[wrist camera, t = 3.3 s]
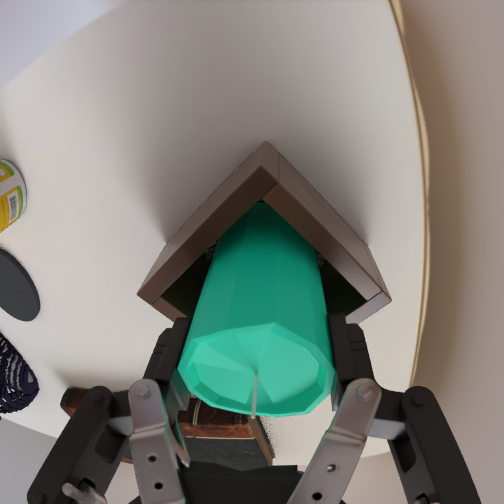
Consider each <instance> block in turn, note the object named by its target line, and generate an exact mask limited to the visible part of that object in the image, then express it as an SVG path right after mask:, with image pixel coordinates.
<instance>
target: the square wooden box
mask: <svg viewBox="0 0 504 504" xmlns="http://www.w3.org/2000/svg"><path fill="white" fill-rule="evenodd" d="M261 198H262V199H263V200H264V201H265V202H266V203H268V204H269V205H270V206H271V207H272V208H273V209H274V210H275V211H276V212H277V213H278V214H279V215H280V216H281V217H282V218H283V219H285V220H286V221H287V222H288V223H289V224H290V225H291V226H292V227H293V228H294V229H295V230H296V231H297V232H298V233H299V234H300V235H301V236H302V237H303V238H304V239H305V240H307V241H308V242H309V243H310V244H311V245H312V246H313V247H314V248H315V249H316V250H317V251H318V252H319V253H320V254H321V255H322V256H323V257H324V258H325V259H326V260H327V261H328V262H329V263H328V264H326V265H325V266H324V267H323V268H321V269H320V270H319V271H320V277H321V282H322V288H323V293H324V299H325V305H326V311H327V313H338V312H344V313H345V317H346V322H347V324H350V323H357V324H359V323H360V322H362V321H363V320H365V319H366V318H368V317H369V316H371V315H372V314H374V313H375V312H377V311H378V310H380V309H381V308H383V307H384V306H386V305H387V304H388V303H390V302H391V301H392V299H391V297H390V295H389V292H388V290H387V288H386V285H385V283H384V281H383V278H382V276H381V274H380V271H379V269H378V267H377V265H376V262H375V260H374V258H373V256H372V254H371V252H370V249H369V247H368V246H367V245H366V244H365V243H364V242H363V240H362V239H361V238H360V237H359V236H358V235H357V234H356V233H355V231H354V230H353V229H352V228H351V227H350V226H349V225H348V224H347V223H346V221H345V220H344V219H343V218H342V217H341V216H340V215H339V214H338V213H337V212H336V211H335V210H334V208H333V207H332V206H331V205H330V204H329V203H328V202H327V201H326V200H325V199H324V198H323V197H322V196H321V195H320V194H319V193H318V192H317V191H316V189H315V188H314V187H313V186H312V185H311V184H310V183H309V182H308V181H307V180H306V179H305V178H304V177H303V176H302V175H301V174H300V173H299V172H298V171H297V170H296V169H295V168H294V167H293V166H292V165H291V164H290V163H289V162H288V161H287V160H286V159H285V158H284V157H283V156H282V155H281V154H280V153H278V151H277V150H276V149H274V148H273V147H272V146H271V145H270V144H269V143H268V142H267V141H264V142H263V143H262V144H261V145H260V146H259V147H258V148H257V149H256V150H255V151H254V152H253V153H252V154H251V155H250V156H249V157H248V158H247V159H246V160H245V161H244V162H243V163H242V164H241V165H240V166H239V167H238V168H237V169H236V170H235V171H234V172H233V173H232V174H231V175H230V176H229V177H228V178H227V179H226V180H225V181H224V182H223V183H222V184H221V185H220V186H219V187H218V189H217V190H216V191H215V192H214V193H213V194H212V195H211V196H210V197H209V198H208V199H207V200H206V201H205V202H204V203H203V204H202V205H201V206H200V207H199V209H198V210H197V211H196V212H195V213H194V214H193V215H192V216H191V217H190V218H189V219H188V220H187V221H186V223H185V224H184V225H183V226H182V227H181V228H180V229H179V230H178V231H177V232H176V233H175V235H174V236H173V237H172V238H171V239H170V240H169V241H168V242H167V243H166V245H165V247H164V248H163V250H162V251H161V253H160V255H159V256H158V258H157V260H156V261H155V263H154V265H153V266H152V268H151V270H150V272H149V273H148V275H147V277H146V278H145V280H144V282H143V284H142V285H141V287H140V289H139V290H138V292H137V295H138V296H139V297H140V298H142V299H143V300H144V301H146V302H147V303H148V304H150V305H151V306H152V307H154V308H155V309H156V310H158V311H159V312H160V313H162V314H163V315H164V316H166V317H167V318H169V319H170V320H171V321H173V322H175V319H176V318H177V317H193V316H194V313H195V310H196V307H197V304H198V301H199V298H200V295H201V292H202V288H203V285H204V282H205V279H206V276H207V273H208V270H209V267H210V264H209V263H208V262H207V261H205V260H204V259H203V258H202V257H200V256H201V255H202V254H203V253H204V252H205V251H206V250H207V249H208V248H209V247H210V246H211V245H212V244H213V243H214V242H215V241H217V240H218V239H219V238H220V237H221V236H222V235H223V234H224V233H225V232H226V231H227V230H228V229H229V228H230V227H231V226H232V225H233V224H234V223H235V222H236V221H237V220H239V219H240V218H241V217H242V216H243V215H244V214H245V213H246V212H247V211H248V210H249V209H250V208H251V207H252V206H253V205H254V204H256V203H257V202H258V201H259V200H260V199H261Z"/></svg>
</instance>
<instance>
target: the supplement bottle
mask: <svg viewBox="0 0 504 504" xmlns="http://www.w3.org/2000/svg"><path fill="white" fill-rule="evenodd" d="M25 206H26V188H25V184H24V181H23V179H22V177H21V175H20V173H19V172H18V170H17V169H16V168H15V167H14V166H13V165H12V164H11V163H10V162H8V161H5V160H0V233H1V232H2V231H3V230H4V229H6V228H7V227H8V226H9V225H11V224H12V223H13V222H15V221H16V220H17V219H18V218H20V216H21V215H22V214H23V212H24V210H25Z"/></svg>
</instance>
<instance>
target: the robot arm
mask: <svg viewBox="0 0 504 504" xmlns="http://www.w3.org/2000/svg"><path fill="white" fill-rule="evenodd" d="M192 319H193V317H177V318H176V319H175V322H174V324H173V327H172V328H166V329H165V330H164V331H163V332H162V334H161V335H160V336H159V338H158V340H157V343H156V346H155V348H154V350H153V353H152V355H151V358H150V361H149V363H148V366H147V368H146V371H145V374H144V376H143V379H141V380H139V381H137V382H135V383H134V384H133V385H132V386H131V387H130V389H129V390H126V391H120V392H114V393H111V391H110V390H109V389H108V388H107V387H105V386H96V387H93V388H91V389H90V390H89V391H88V392H87V393H86V394H85V396H84V398H83V399H82V401H81V402H80V404H79V405H78V407H77V409H76V410H75V412H74V413H73V415H72V417H71V418H70V420H69V421H68V423H67V425H66V426H65V428H64V430H63V431H62V433H61V435H60V436H59V438H58V440H57V441H56V443H55V445H54V446H53V448H52V450H51V451H50V453H49V455H48V457H47V458H46V460H45V462H44V464H43V465H42V467H41V469H40V470H39V472H38V474H37V476H36V478H35V479H34V481H33V483H32V485H31V487H30V488H29V490H28V493H27V501H28V504H107V500H106V498H105V496H104V494H105V493H106V491H107V489H108V486H109V484H110V482H111V480H112V478H113V476H114V474H115V472H116V470H117V468H118V466H119V464H120V462H121V460H122V458H123V456H124V454H125V452H126V450H127V448H128V446H129V444H130V447H131V453H132V459H133V465H134V470H135V475H136V479H137V485H138V489H139V494H140V495H139V496H138V497H136V498H135V499H134V500H132V501H131V502H130V503H129V504H346V503H345V502H344V501H343V500H342V497H343V495H344V493H345V490H346V488H347V486H348V484H349V482H350V480H351V477H352V475H353V473H354V470H355V468H356V466H357V463H358V461H359V459H360V456H361V454H362V451H363V449H364V446H365V443H366V439H367V437H368V436H370V437H377V438H383V439H387V441H388V444H389V447H390V450H391V453H392V455H393V458H394V461H395V464H396V467H397V470H398V473H399V476H400V479H401V483H402V486H403V489H404V492H405V495H406V498H407V502H408V504H481V501H480V498H479V496H478V493H477V490H476V488H475V485H474V483H473V480H472V478H471V475H470V473H469V470H468V468H467V465H466V463H465V461H464V458H463V456H462V454H461V451H460V449H459V447H458V444H457V442H456V440H455V438H454V436H453V434H452V431H451V429H450V427H449V425H448V423H447V421H446V418H445V416H444V414H443V412H442V410H441V408H440V406H439V404H438V402H437V400H436V398H435V396H434V394H433V393H432V392H431V391H430V390H429V389H427V388H425V387H422V386H414V387H411V388H409V389H407V390H406V391H405V393H403V392H396V391H390V390H387V389H384V388H382V387H381V386H380V385H379V384H378V383H377V382H376V380H375V378H374V375H373V370H372V366H371V361H370V357H369V353H368V350H367V345H366V342H365V337H364V333H363V330H362V329H361V328H360V327H359V326H358V324H357V323H350V324H347V322H346V317H345V313H344V312H338V313H327V319H328V325H329V332H330V338H331V345H332V352H333V360H334V367H335V373H334V379H333V384H332V389H331V402H332V411H337V412H336V414H335V416H334V418H333V420H332V423H331V425H330V427H329V429H328V430H326V432H325V434H324V435H323V437H322V439H321V441H320V443H319V445H318V447H317V449H316V451H315V453H314V455H313V457H312V459H311V461H310V463H309V465H308V467H307V468H306V470H305V472H302V471H297V465H281V466H266V467H261V468H256V469H251V470H245V471H240V470H236V469H233V468H230V467H226V466H223V465H220V464H217V463H209V462H199V461H192V460H191V458H190V456H189V454H188V452H187V448H186V445H185V442H184V438H183V435H182V431H181V428H180V424H179V420H178V418H177V415H178V411H179V410H187V408H188V404H189V400H190V395H191V392H190V391H189V390H188V389H187V387H186V385H185V383H184V381H183V379H182V377H181V375H180V373H179V371H178V369H177V368H178V364H179V361H180V358H181V355H182V351H183V348H184V345H185V342H186V338H187V335H188V332H189V329H190V326H191V323H192Z"/></svg>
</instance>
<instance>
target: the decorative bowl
mask: <svg viewBox="0 0 504 504" xmlns="http://www.w3.org/2000/svg"><path fill="white" fill-rule="evenodd" d="M1 337H2V339H1V340H0V357H1V356H2V358H1V359H0V361H1V362H0V405H2V406H1V407H0V409H1V410H0V413H4V414H6V413H7V412H8V413H12V412H15V411H16V412H17V411H18V410H22V409H24V408H25V407H27V406H29V404H30V403H31V402H32V401H33V399H34V398H35V396H37V394H38V391H39V385H38V382H37V381H38V380H37V378H36V377H35V375H34V373H33V371H32V370H31V369H30V367H29V365H28V364H26V362H25V360H23V358H22V356H21V355H20V354H19V353H18V352H17V350H15V348H14V347H13V346H12V345H11V343H9V341H8V340H7V339H5V337H3V335H2V334H1V333H0V338H1ZM4 340H5V342H4V343H3V345H2V346H1V344H2V342H3V341H4ZM6 344H8V345H7V346H6V347H7V348H8V349H7V351H6V352H4V353H3V350H4V349H5V345H6ZM12 354H13V356H12V358H11V361H10V365H9V367H8V370H7V366H8V362H9V361H8V360H7V359H9V358H10V357H11V355H12ZM16 355H18V358H17V359H18V360H17V362H16V363H15V364H16V366H15V367H16V368H15V370H14V371H13V372H14V373H13V375H14V376H13V381H14V382H13V384H14V385H13V386H14V387H12V386H11V385H12V384H11V383H10V378H11V377H10V373H11V369H12V368H11V367H12V363H13V362H14V360H15V359H16V357H15V356H16ZM21 361H23V362H22V366H21V367H20V371H19V375H18V377H19V381H18V382H19V386H20V388H21V389H22V391H20V390H18V388H17V387H18V386H17V382H16V380H17V379H16V378H17V370H18V366H19V364H20V363H21ZM5 369H6V370H7V371H8V375H7V380H8V384H7V383H6V379H5V378H6V371H5ZM29 372H30V374H31V376H32V377H33V381H34V382H32V383H29V382H28V375H29V374H28V373H29ZM7 386H8V388H7ZM7 389H9V391H10V392H11V393H8V390H7ZM11 389H13V390H15V391H14V392H13V391H12V390H11ZM22 394H23V395H22ZM19 397H20V398H19ZM2 398H3V399H5V400H6V402H5V401H4V400H3V399H2ZM15 399H16V400H15ZM13 400H14V401H13ZM0 420H1V416H0Z"/></svg>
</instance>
